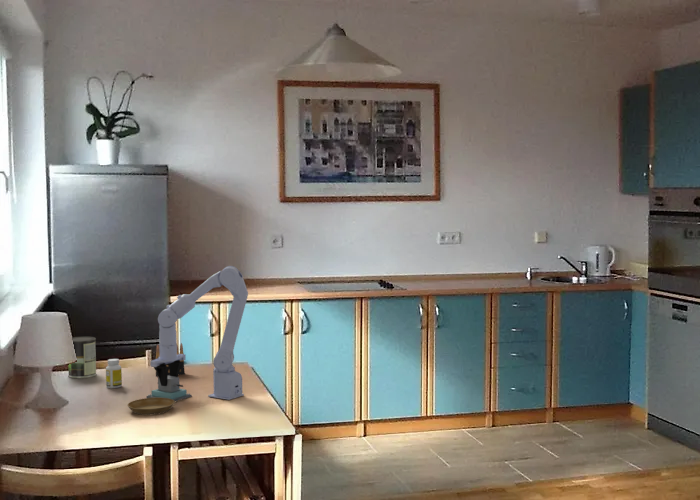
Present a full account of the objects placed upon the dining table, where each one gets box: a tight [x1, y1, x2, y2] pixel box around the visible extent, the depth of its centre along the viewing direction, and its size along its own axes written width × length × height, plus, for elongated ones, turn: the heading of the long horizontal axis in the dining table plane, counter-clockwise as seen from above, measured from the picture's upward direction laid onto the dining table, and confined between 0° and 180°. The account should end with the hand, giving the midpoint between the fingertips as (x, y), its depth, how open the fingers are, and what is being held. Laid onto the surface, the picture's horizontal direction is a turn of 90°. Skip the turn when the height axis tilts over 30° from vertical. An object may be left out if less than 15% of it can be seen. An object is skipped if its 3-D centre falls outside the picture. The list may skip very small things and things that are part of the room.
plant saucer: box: [127, 397, 176, 416], centre depth 273 cm, size 15×15×3 cm
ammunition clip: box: [155, 342, 186, 377], centre depth 325 cm, size 11×2×12 cm, turn 107°
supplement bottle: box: [105, 358, 123, 389], centre depth 305 cm, size 5×5×10 cm
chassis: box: [146, 388, 193, 402], centre depth 290 cm, size 12×9×2 cm
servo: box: [157, 376, 184, 393], centre depth 289 cm, size 11×4×5 cm, turn 57°
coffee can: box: [67, 336, 97, 379], centre depth 324 cm, size 10×10×14 cm
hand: (168, 384), depth 289 cm, fingers closed on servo, 4 cm apart
